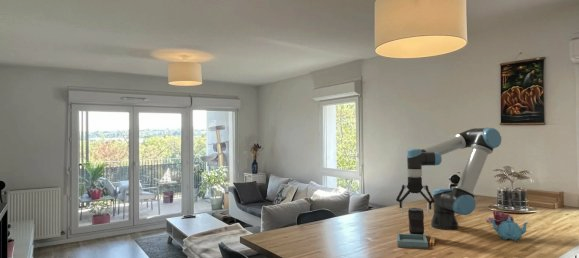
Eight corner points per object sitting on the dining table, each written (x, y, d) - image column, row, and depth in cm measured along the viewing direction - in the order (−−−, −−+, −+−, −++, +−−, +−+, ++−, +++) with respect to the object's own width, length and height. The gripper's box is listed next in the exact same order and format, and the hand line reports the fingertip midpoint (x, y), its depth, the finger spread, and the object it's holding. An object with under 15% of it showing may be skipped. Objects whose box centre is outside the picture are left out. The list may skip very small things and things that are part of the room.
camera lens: (406, 234, 200) (405, 208, 200) (420, 233, 201) (419, 207, 201) (412, 238, 192) (411, 210, 192) (427, 237, 193) (426, 210, 193)
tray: (425, 240, 188) (424, 234, 188) (428, 248, 174) (427, 242, 174) (396, 238, 192) (396, 233, 192) (397, 246, 178) (397, 240, 178)
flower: (481, 223, 209) (486, 208, 208) (488, 222, 220) (493, 207, 219) (509, 235, 199) (515, 218, 198) (514, 233, 209) (520, 217, 209)
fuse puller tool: (431, 239, 189) (430, 237, 189) (435, 240, 188) (435, 237, 188) (429, 245, 179) (429, 242, 179) (433, 245, 178) (433, 242, 178)
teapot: (530, 241, 182) (529, 221, 183) (508, 243, 180) (508, 223, 180) (510, 234, 195) (509, 216, 195) (489, 236, 192) (488, 218, 192)
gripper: (437, 176, 197) (438, 214, 197) (391, 175, 204) (392, 212, 203) (439, 177, 190) (440, 217, 189) (391, 176, 197) (392, 214, 196)
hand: (415, 214), depth 196 cm, fingers open, 13 cm apart
